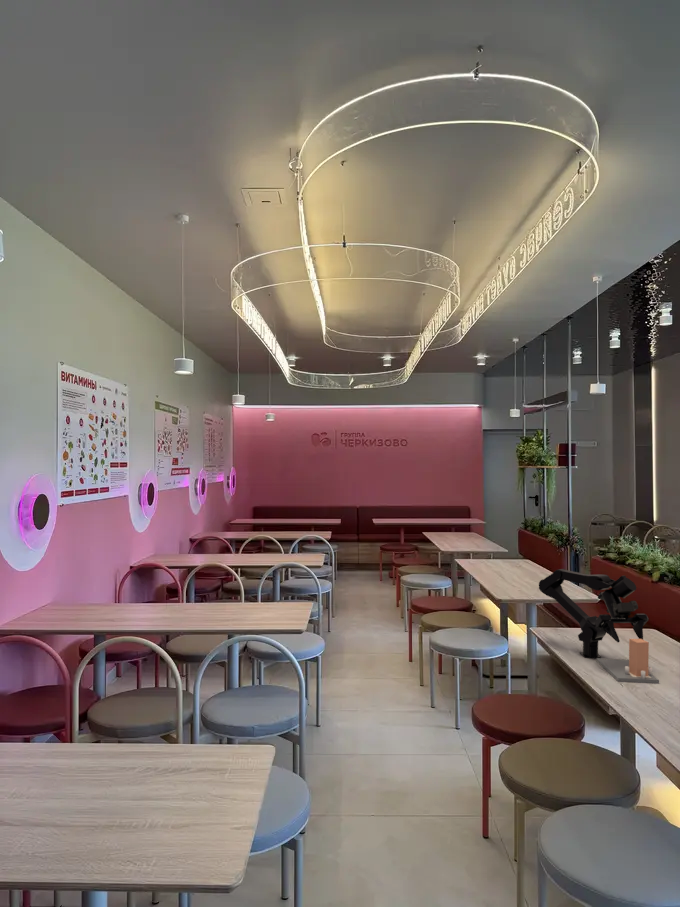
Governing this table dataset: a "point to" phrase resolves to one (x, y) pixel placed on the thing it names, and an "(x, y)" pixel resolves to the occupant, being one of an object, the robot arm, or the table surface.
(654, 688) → the table surface
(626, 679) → the base plate
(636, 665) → the terracotta block
